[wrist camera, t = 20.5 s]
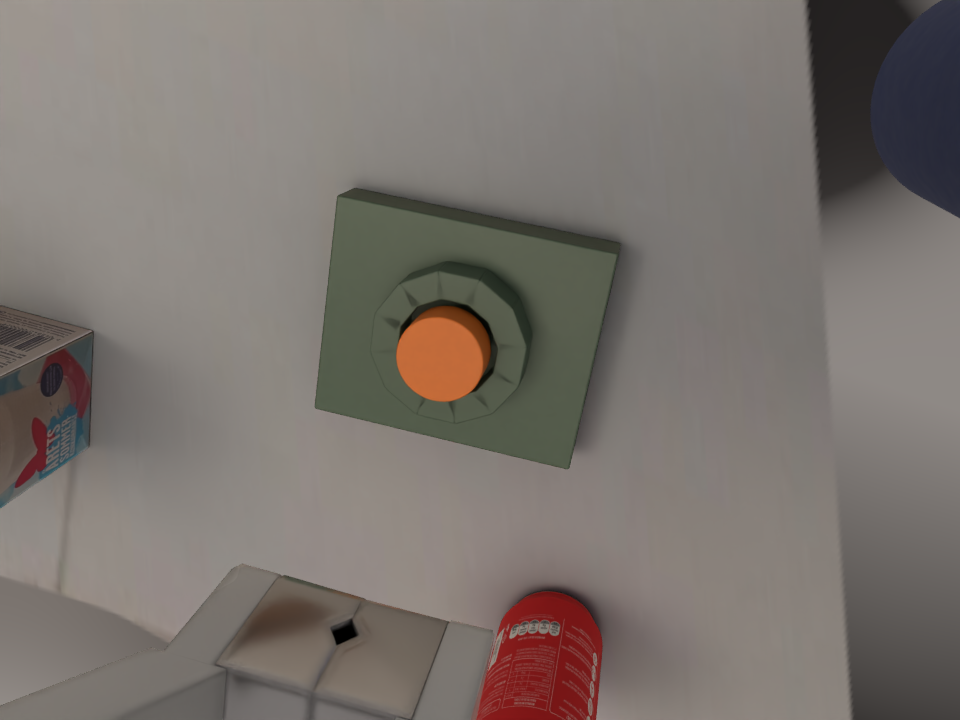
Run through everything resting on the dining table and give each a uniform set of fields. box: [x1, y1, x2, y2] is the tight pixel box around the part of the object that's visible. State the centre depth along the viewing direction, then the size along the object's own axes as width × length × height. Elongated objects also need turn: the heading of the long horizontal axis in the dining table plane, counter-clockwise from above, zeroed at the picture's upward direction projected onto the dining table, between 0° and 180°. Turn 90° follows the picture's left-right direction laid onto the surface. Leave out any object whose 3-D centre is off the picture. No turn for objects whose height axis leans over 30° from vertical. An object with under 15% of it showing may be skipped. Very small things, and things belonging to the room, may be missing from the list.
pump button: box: [396, 306, 491, 402], centre depth 35 cm, size 4×4×2 cm
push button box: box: [315, 188, 621, 469], centre depth 37 cm, size 12×10×4 cm
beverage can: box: [476, 591, 602, 720], centre depth 38 cm, size 5×5×12 cm
